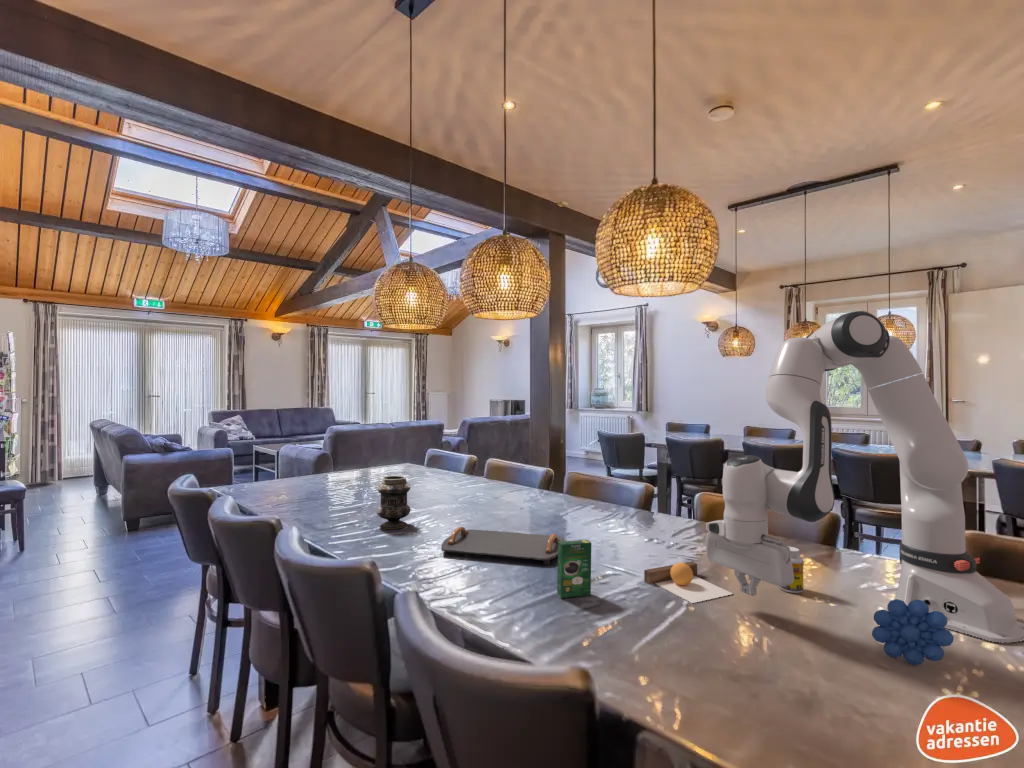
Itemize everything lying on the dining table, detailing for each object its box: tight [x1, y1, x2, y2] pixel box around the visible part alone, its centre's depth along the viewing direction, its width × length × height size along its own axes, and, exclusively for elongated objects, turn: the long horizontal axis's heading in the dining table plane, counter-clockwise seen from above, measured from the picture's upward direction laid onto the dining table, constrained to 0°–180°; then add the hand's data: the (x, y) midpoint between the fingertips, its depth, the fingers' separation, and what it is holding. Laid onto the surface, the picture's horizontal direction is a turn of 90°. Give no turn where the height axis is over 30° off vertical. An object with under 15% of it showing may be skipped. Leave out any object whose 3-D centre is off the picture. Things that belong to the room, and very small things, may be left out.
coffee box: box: [556, 539, 592, 599], centre depth 122 cm, size 8×3×13 cm, turn 104°
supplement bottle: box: [777, 545, 804, 594], centre depth 125 cm, size 6×6×10 cm
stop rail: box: [643, 561, 698, 585], centre depth 132 cm, size 2×16×3 cm, turn 113°
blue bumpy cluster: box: [871, 599, 955, 666], centre depth 91 cm, size 12×7×12 cm, turn 47°
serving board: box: [440, 526, 565, 566], centre depth 157 cm, size 39×23×6 cm, turn 74°
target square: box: [654, 575, 734, 604], centre depth 125 cm, size 13×13×1 cm
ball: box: [670, 562, 693, 586], centre depth 128 cm, size 6×6×6 cm
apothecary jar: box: [376, 475, 411, 530], centre depth 185 cm, size 12×12×18 cm
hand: (748, 593), depth 110 cm, fingers closed
